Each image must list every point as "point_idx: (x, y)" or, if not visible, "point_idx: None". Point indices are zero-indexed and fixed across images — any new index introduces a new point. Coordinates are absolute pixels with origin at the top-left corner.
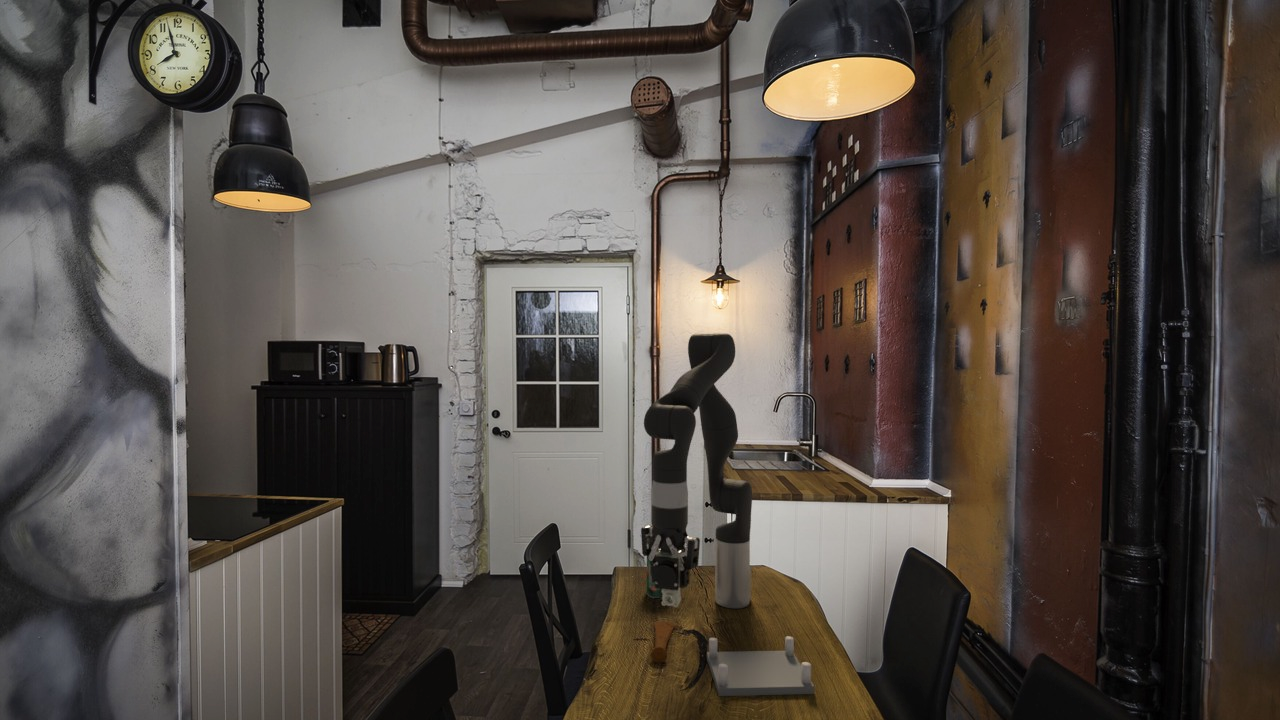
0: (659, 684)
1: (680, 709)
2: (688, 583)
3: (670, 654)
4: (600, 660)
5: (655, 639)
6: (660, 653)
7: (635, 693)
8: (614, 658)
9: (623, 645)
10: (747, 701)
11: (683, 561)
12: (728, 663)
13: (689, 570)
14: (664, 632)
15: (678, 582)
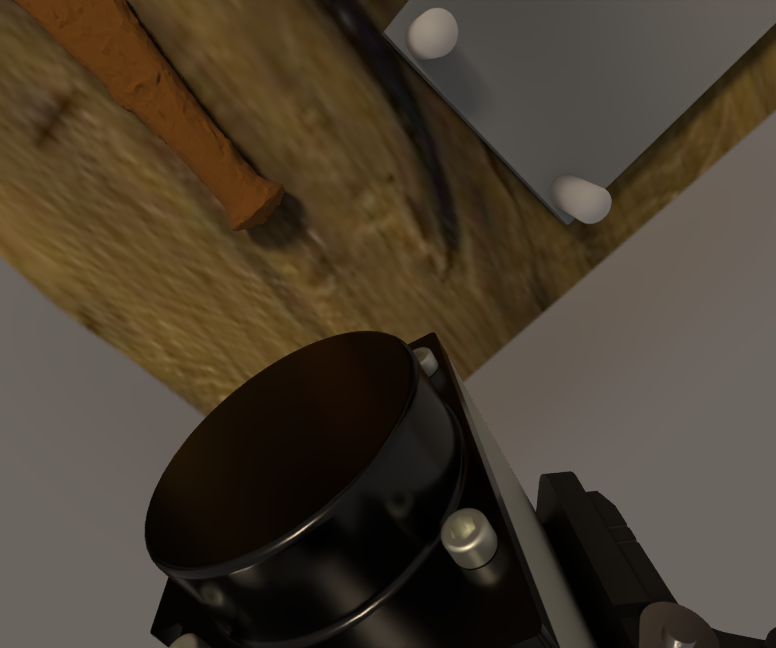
0: (373, 306)
1: (501, 348)
2: (605, 504)
3: (249, 126)
4: (123, 350)
5: (131, 111)
6: (266, 213)
7: None
8: (140, 308)
9: (67, 219)
10: (646, 172)
11: (574, 617)
12: (511, 45)
13: (673, 597)
14: (92, 14)
15: None
